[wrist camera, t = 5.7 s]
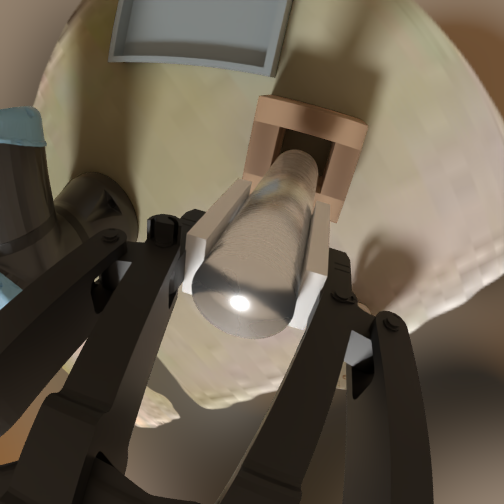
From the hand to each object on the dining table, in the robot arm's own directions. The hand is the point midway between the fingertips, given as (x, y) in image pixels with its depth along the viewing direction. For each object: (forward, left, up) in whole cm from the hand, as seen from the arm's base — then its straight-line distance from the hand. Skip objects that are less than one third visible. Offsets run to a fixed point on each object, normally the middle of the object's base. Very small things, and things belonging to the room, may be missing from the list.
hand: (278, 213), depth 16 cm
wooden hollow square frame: (0, 0, -18) cm, 18 cm away
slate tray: (-15, +14, -18) cm, 28 cm away
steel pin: (0, 0, -9) cm, 9 cm away
